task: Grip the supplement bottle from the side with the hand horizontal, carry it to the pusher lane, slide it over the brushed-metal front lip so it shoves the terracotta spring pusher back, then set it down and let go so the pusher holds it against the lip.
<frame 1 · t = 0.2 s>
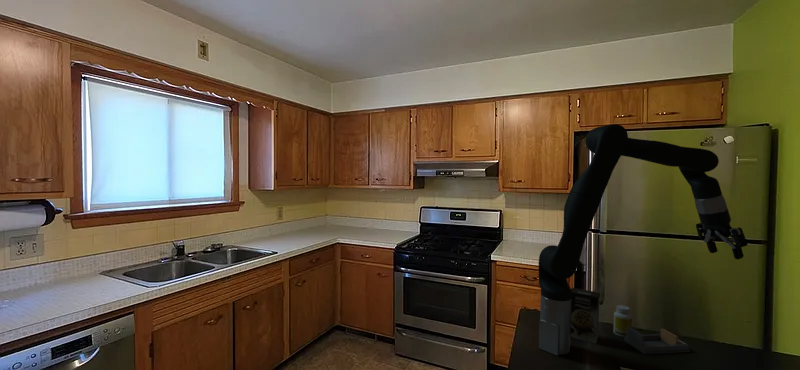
hand: (726, 255, 115), 31 cm above the countertop, tool tilted 20°, fingers open, 8 cm apart
pusher: (669, 338, 117), point 3 cm above the countertop, slide at 0.0 cm
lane: (658, 345, 117), on the countertop
coffee box: (582, 337, 122), on the countertop
supplement bottle: (622, 334, 125), on the countertop
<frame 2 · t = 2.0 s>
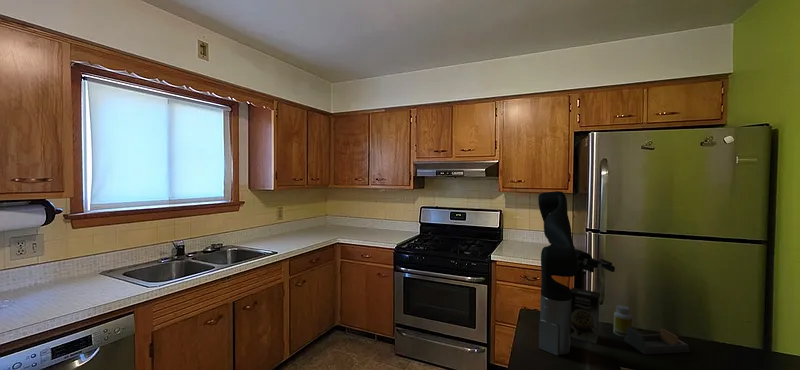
hand: (603, 269, 135), 20 cm above the countertop, tool horizontal, fingers open, 8 cm apart
nothing on the countertop moved.
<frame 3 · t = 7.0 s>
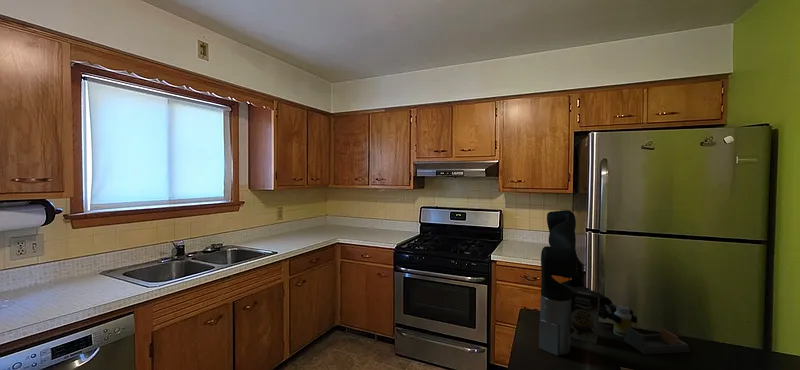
hand: (628, 320, 122), 6 cm above the countertop, tool horizontal, fingers closed on supplement bottle, 5 cm apart
supplement bottle: (622, 334, 125), on the countertop, touching gripper
everything else where it was.
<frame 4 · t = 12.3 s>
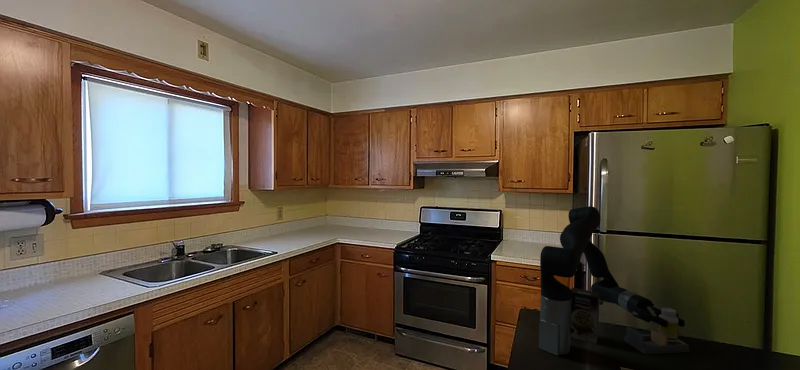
hand: (675, 324, 114), 8 cm above the countertop, tool horizontal, fingers closed on supplement bottle, 5 cm apart
pusher: (658, 338, 116), point 3 cm above the countertop, slide at 3.7 cm, touching supplement bottle
supplement bottle: (667, 339, 117), point 2 cm above the countertop, touching gripper, pusher
everything else where it was.
when the fingers open (7 cm above the countertop, at t = 13.4 s): supplement bottle stays where it is, resting on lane, pusher.
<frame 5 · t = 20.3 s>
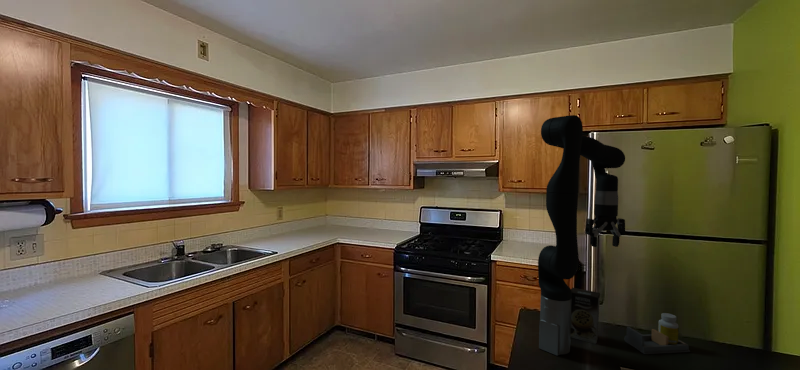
hand: (604, 246, 130), 30 cm above the countertop, tool pointing down, fingers open, 8 cm apart
supplement bottle: (667, 344, 117), resting on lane, pusher
everything else where it was.
at the end: supplement bottle 0.1 cm from the target spot on the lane, point 0.2 cm above the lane's base; pusher slide at 3.4 cm; supplement bottle tilted 0° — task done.
